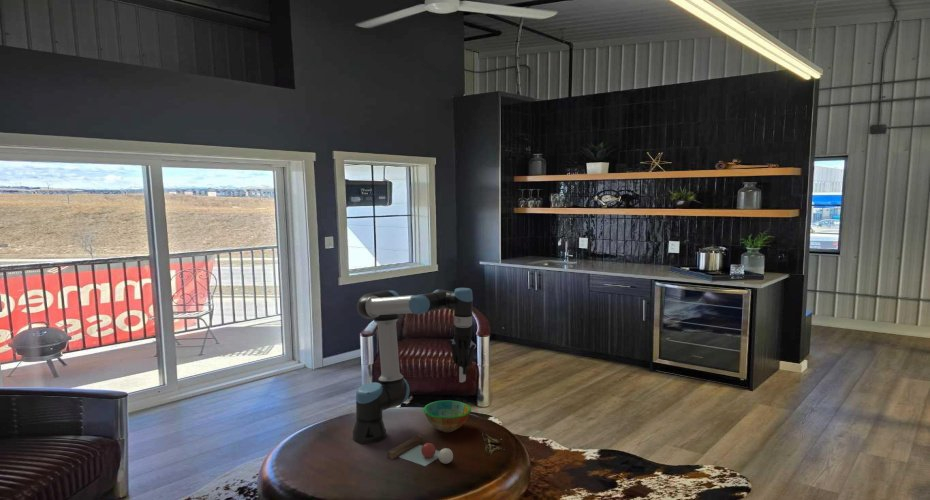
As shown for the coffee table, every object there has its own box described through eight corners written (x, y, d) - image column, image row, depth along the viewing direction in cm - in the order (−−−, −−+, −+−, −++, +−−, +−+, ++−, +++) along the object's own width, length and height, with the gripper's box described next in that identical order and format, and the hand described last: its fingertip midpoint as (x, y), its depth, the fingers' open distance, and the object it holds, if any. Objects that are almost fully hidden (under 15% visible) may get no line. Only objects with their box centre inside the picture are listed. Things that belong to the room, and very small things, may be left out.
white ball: (448, 465, 227) (437, 466, 230) (457, 460, 231) (446, 461, 235) (445, 449, 228) (434, 450, 231) (454, 445, 232) (443, 447, 236)
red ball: (431, 456, 231) (422, 462, 234) (440, 451, 236) (432, 457, 239) (424, 443, 233) (416, 449, 236) (434, 438, 238) (425, 444, 241)
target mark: (398, 457, 236) (398, 456, 236) (419, 445, 248) (419, 444, 248) (425, 466, 228) (425, 465, 228) (445, 453, 240) (445, 453, 240)
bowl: (459, 417, 280) (459, 397, 279) (478, 434, 259) (479, 413, 258) (416, 423, 271) (416, 403, 270) (433, 442, 250) (433, 420, 249)
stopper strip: (387, 457, 235) (387, 451, 235) (417, 440, 252) (417, 435, 252) (391, 459, 234) (391, 453, 234) (421, 442, 251) (421, 436, 250)
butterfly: (508, 456, 239) (486, 452, 237) (505, 463, 240) (483, 459, 238) (500, 431, 257) (480, 426, 255) (498, 437, 257) (477, 433, 256)
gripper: (444, 325, 233) (444, 380, 235) (471, 329, 226) (470, 387, 228) (455, 321, 239) (454, 376, 241) (481, 326, 232) (480, 382, 234)
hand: (462, 381), depth 235 cm, fingers closed
